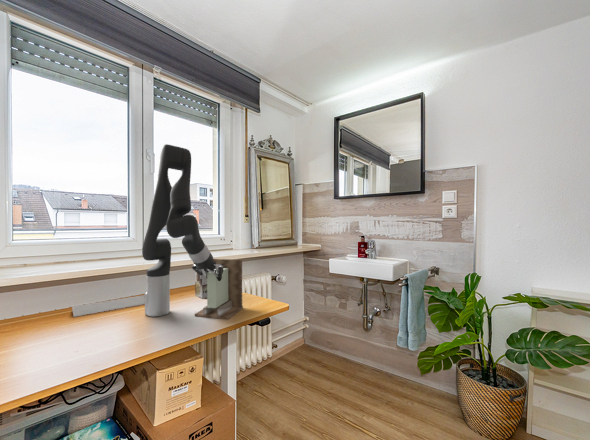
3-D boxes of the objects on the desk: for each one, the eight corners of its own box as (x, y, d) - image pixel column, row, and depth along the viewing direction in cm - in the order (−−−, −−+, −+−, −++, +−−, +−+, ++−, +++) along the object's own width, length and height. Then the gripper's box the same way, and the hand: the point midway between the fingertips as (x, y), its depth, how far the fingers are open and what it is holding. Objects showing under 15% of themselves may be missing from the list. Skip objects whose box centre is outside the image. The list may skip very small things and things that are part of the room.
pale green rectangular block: (205, 307, 122) (205, 272, 122) (218, 299, 133) (218, 268, 133) (215, 308, 121) (215, 272, 121) (228, 300, 132) (228, 268, 132)
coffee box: (213, 296, 154) (213, 266, 154) (202, 298, 150) (201, 268, 150) (205, 293, 161) (205, 264, 161) (194, 295, 156) (194, 266, 156)
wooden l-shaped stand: (194, 316, 123) (194, 263, 123) (211, 305, 138) (211, 258, 138) (228, 319, 120) (228, 264, 120) (242, 308, 134) (242, 259, 134)
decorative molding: (72, 318, 130) (73, 317, 122) (72, 307, 131) (73, 306, 123) (153, 303, 152) (158, 302, 144) (152, 294, 153) (157, 292, 145)
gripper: (220, 247, 114) (233, 272, 126) (188, 247, 117) (203, 271, 129) (213, 263, 109) (227, 287, 121) (180, 262, 112) (197, 286, 124)
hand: (215, 279), depth 125 cm, fingers closed on pale green rectangular block, 4 cm apart
